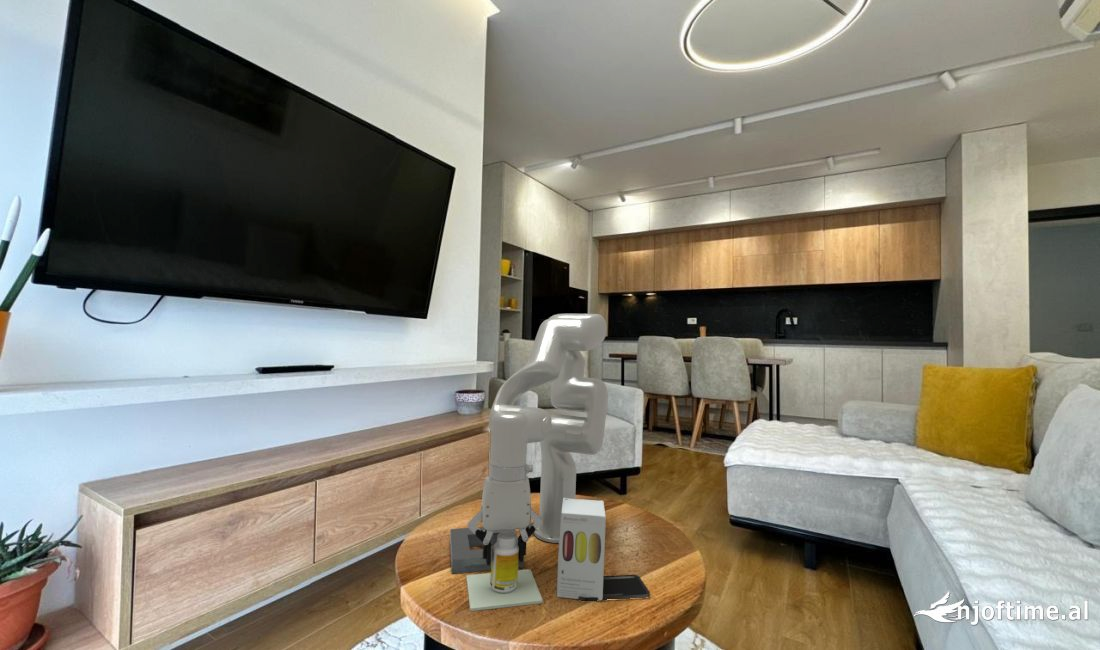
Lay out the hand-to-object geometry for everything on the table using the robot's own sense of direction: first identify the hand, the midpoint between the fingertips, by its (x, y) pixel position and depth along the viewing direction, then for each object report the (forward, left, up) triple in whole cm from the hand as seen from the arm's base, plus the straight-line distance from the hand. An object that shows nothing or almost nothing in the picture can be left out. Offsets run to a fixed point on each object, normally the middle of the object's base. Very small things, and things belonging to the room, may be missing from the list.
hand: (504, 559), depth 89 cm
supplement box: (-16, +2, -6) cm, 17 cm away
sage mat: (0, 0, -6) cm, 6 cm away
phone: (-22, +4, -7) cm, 23 cm away
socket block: (+2, -16, -6) cm, 17 cm away
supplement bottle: (0, 0, -6) cm, 6 cm away
